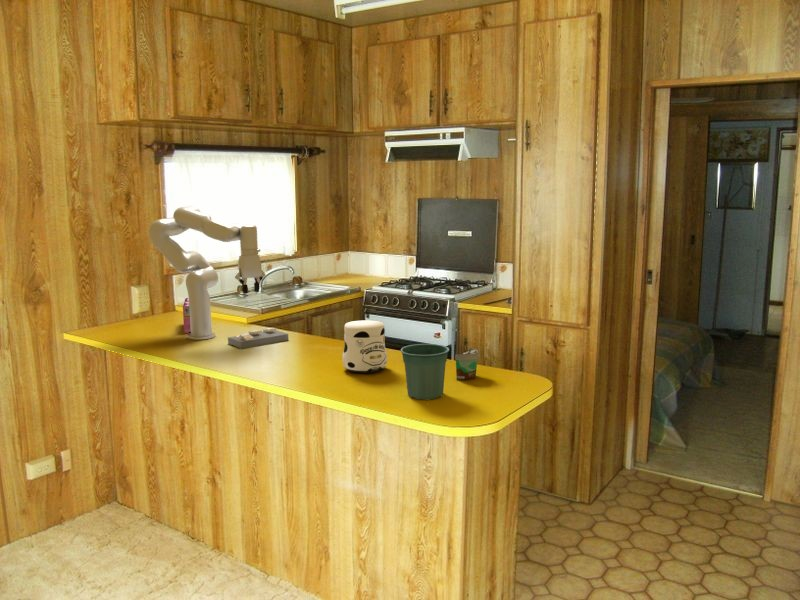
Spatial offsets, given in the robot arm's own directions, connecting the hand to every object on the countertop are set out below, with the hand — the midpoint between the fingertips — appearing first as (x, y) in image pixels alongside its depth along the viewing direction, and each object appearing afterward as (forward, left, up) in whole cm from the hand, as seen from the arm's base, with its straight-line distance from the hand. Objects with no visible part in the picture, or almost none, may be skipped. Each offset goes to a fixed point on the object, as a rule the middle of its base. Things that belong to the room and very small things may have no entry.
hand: (251, 291), depth 322 cm
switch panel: (+5, 0, -22) cm, 23 cm away
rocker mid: (+2, 0, -18) cm, 18 cm away
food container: (+109, +30, -23) cm, 115 cm away
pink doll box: (-44, -9, -23) cm, 50 cm away
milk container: (+74, +8, -23) cm, 78 cm away
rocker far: (+2, +7, -18) cm, 20 cm away
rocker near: (+8, -8, -18) cm, 21 cm away
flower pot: (+113, +4, -23) cm, 115 cm away
